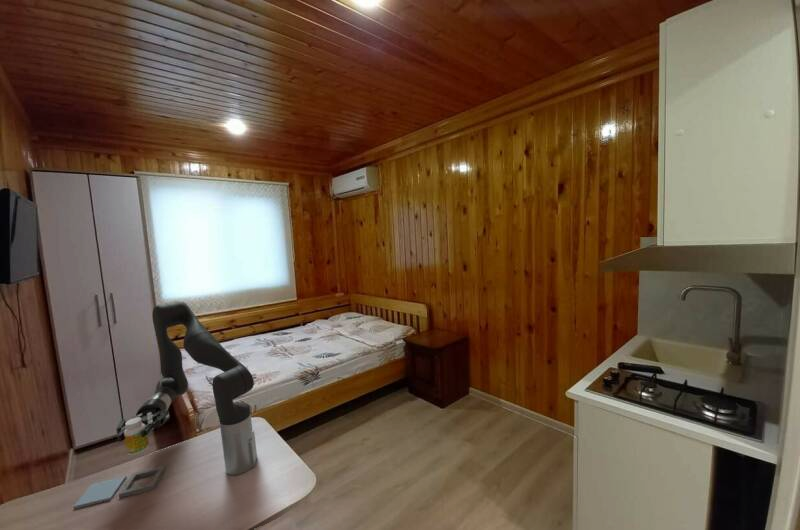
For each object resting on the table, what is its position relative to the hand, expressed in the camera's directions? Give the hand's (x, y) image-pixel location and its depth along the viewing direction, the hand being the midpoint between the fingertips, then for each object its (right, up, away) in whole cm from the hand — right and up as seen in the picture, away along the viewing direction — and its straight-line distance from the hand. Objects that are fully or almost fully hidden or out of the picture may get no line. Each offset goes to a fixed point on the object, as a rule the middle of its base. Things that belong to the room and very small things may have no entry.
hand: (131, 436), depth 99 cm
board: (-10, -18, +1) cm, 21 cm away
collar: (0, -17, +5) cm, 18 cm away
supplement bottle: (0, -6, +3) cm, 7 cm away
